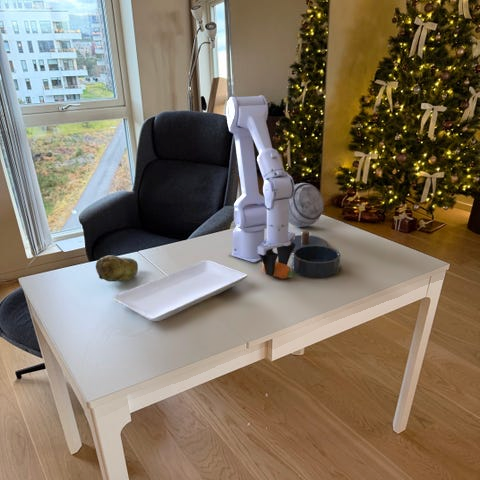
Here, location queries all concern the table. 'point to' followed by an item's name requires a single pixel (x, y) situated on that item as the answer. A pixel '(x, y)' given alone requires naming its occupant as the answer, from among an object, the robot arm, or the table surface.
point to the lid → (307, 240)
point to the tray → (180, 290)
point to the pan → (316, 261)
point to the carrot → (281, 270)
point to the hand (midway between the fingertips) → (276, 271)
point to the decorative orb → (305, 205)
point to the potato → (116, 268)
